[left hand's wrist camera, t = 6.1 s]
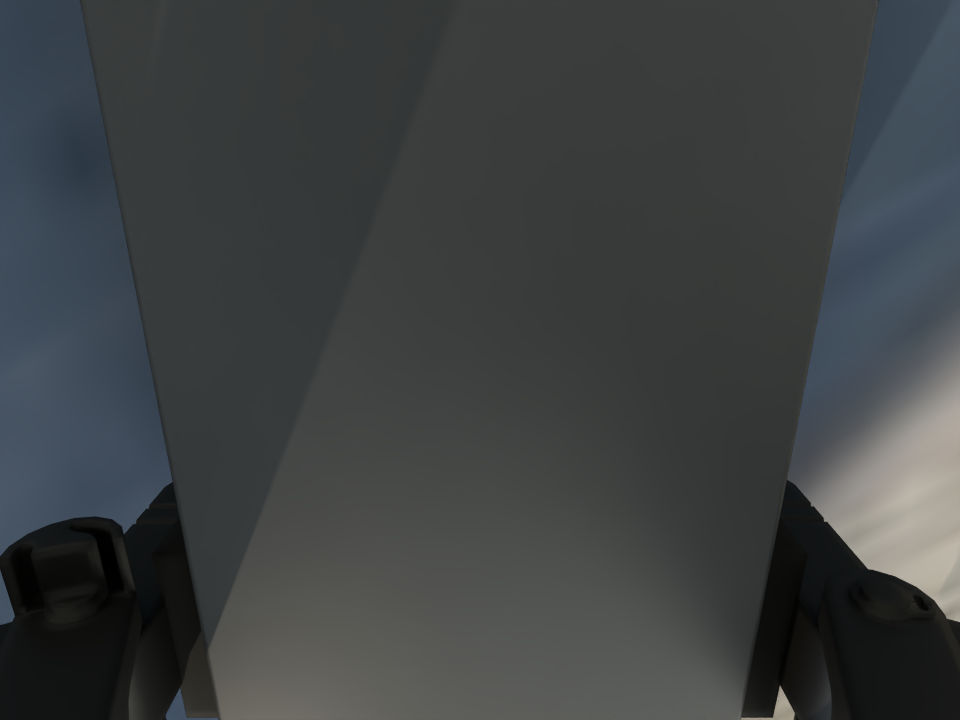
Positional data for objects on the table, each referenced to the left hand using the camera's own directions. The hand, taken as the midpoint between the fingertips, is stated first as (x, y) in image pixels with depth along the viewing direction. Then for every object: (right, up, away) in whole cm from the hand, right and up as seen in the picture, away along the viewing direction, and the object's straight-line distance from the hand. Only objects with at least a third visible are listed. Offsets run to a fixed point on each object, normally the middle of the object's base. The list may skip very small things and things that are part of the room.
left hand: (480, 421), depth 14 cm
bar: (0, +30, -11) cm, 32 cm away
